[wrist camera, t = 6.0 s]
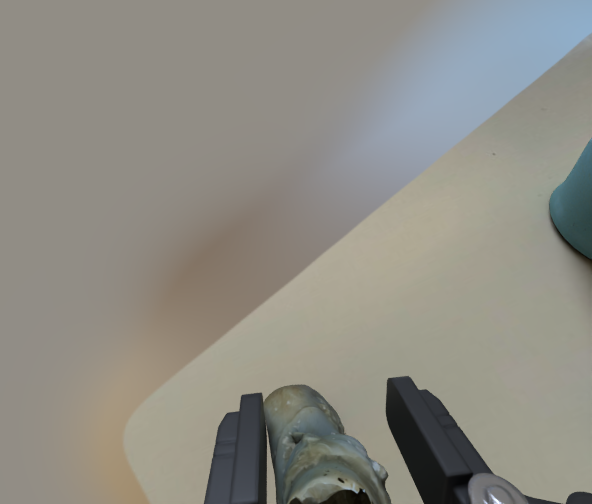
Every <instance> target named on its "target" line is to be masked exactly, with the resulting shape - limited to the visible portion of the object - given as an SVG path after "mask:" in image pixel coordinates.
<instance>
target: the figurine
mask: <svg viewBox="0 0 592 504" xmlns="http://www.w3.org/2000/svg"><path fill="white" fill-rule="evenodd" d="M263 405H264V413H265V420H266V425H267V431H268V436H269V444H270V451H271V458H272V463H273V469H274V474H275V484H276V502H277V504H391V499H390V497H389V495H388V493H387V491H386V488H385V481H386V479H387V477H388V473H387V471H386V470H385V468H384V467H383V466H381V465H380V464H378V463H377V462H376V461H373V460H371V459H370V458H369V457H368V455H367V451H366V449H365V448H364V446H363V445H362V444H361V443H360V442H359V441H358V440H356V439H355V438H353V437H351V436H348V435H345V434H344V427H343V426H342V423H341V421H340V418H339V416H338V414H337V412H336V411H335V410H334V409H333V407H332V406H330V405H329V404H328V402H327V401H326V400H325V399H324V398H323V397H322V395H320V394H319V393H318V392H317V391H315V390H313V389H312V388H310V387H309V386H306V385H290V386H284V387H281V388H279V389H277V390H275V391H273V392H272V393H271V394H270V395H269V396H268V397H267V398H266V399H265V401H264V403H263Z"/></svg>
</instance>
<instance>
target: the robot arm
mask: <svg viewBox="0 0 592 504" xmlns="http://www.w3.org/2000/svg"><path fill="white" fill-rule="evenodd" d="M386 417H387V421H388V425H389V428H390V430H391V432H392V435H393V437H394V439H395V441H396V443H397V446H398V448H399V450H400V452H401V454H402V456H403V459H404V461H405V463H406V465H407V467H408V470H409V472H410V474H411V476H412V478H413V481H414V483H415V485H416V487H417V489H418V491H419V494H420V496H421V498H422V500H423V502H424V504H561V503H556V502H551V501H546V500H541V499H536V498H532V497H528V496H526V495H523V494H522V493H521V492H520V491H519V490H518V489H517V488H516V487H515V486H514V485H512V484H511V483H510V482H508V481H507V480H505V479H503V478H501V477H499V476H496V475H494V474H493V472H492V471H491V470H490V469H489V467H488V466H487V464H486V463H485V462H484V460H483V459H482V458H481V456H480V455H479V453H478V452H477V451H476V449H475V448H474V447H473V445H472V444H471V442H470V441H469V440H468V438H467V437H466V435H465V434H464V433H463V431H462V430H461V429H460V427H458V426H457V423H456V422H455V420H454V419H453V417H452V416H451V415H449V412H448V411H447V409H446V408H445V406H444V405H443V404H442V402H441V401H440V400H439V399H438V398H437V397H435V396H434V395H433V394H432V393H430V392H429V391H428V390H418V388H417V387H416V385H415V384H414V382H413V381H412V379H411V378H410V377H409V376H404V377H395V378H388V380H387V395H386ZM204 504H267V435H266V422H265V413H264V405H263V396H262V393H254V394H245V395H242V396H241V402H240V411H239V412H231V413H227V414H226V415H225V417H224V418H223V420H222V422H221V423H220V425H219V427H218V432H217V437H216V445H215V448H214V453H213V458H212V464H211V469H210V474H209V480H208V485H207V490H206V496H205V501H204ZM566 504H592V494H591V493H587V492H574V493H572V494H571V495H570V496H569V497H568V499H567V502H566Z"/></svg>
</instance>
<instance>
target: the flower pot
mask: <svg viewBox="0 0 592 504" xmlns="http://www.w3.org/2000/svg"><path fill="white" fill-rule="evenodd" d="M549 205H550V214H551V217H552V219H553V222H554V224H555V225H556V227H557V229H558V230H559V232H560V233H561V234H562V235H563V237H564V238H565V239H566V240H567V241H568V242H569V243H570V244H571V245H572V246H573V247H574V248H576V249H577V250H578V251H579V252H581V253H582V254H583V255H585V256H587V257H588V258H590V259H592V138H591V140H590V141H589V143H588V144H587V146H586V147H585V149H584V151H583V152H582V154H581V156H580V158H579V159H578V161H577V163H576V164H575V166H574V168H573V169H572V171H571V172H570V174H569V176H568V177H567V178H566V180H565V181H564V182H563V183H562V184H561V185H559V186H558V187H557V188H556V189H555V190H554V192H553V193H552V195H551V198H550V204H549Z"/></svg>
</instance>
